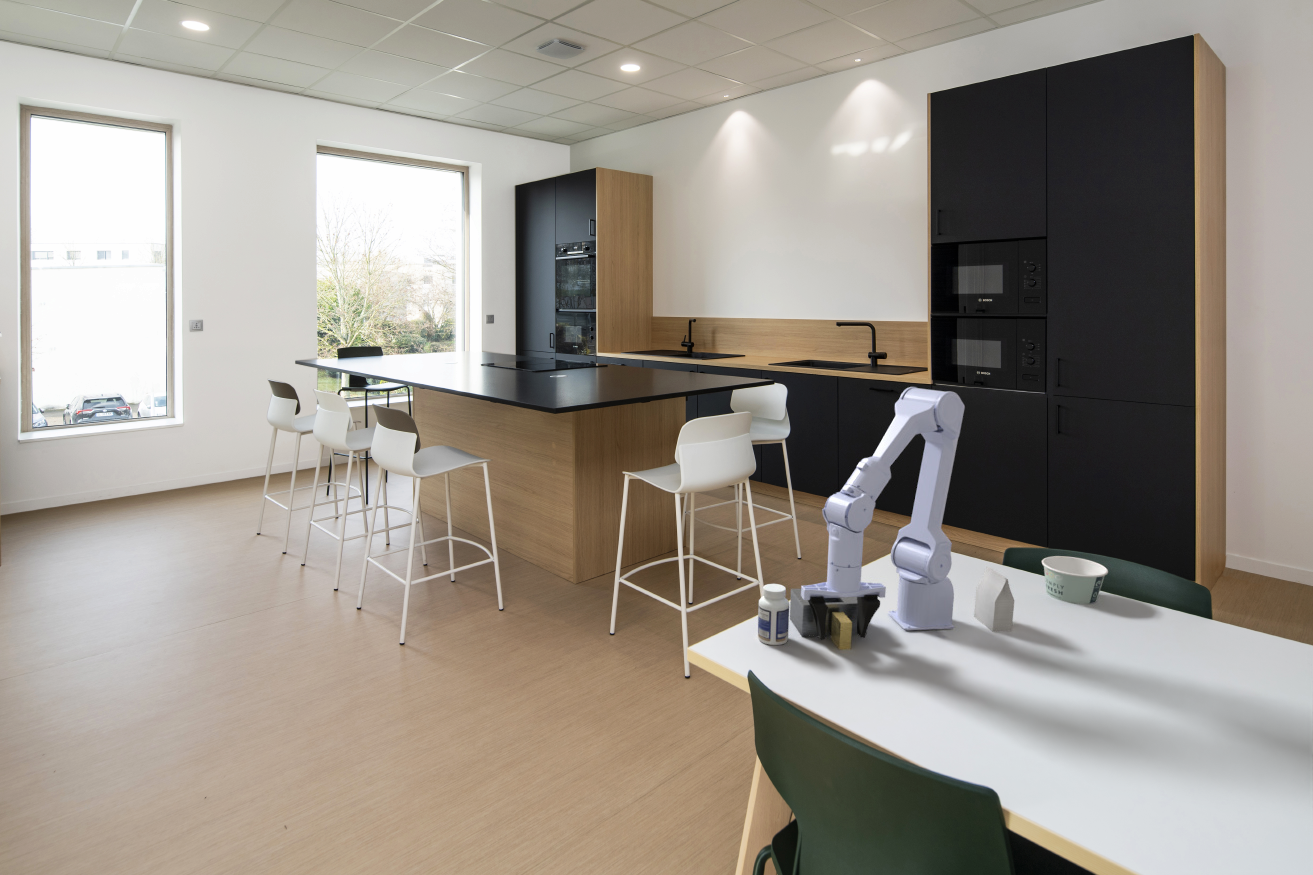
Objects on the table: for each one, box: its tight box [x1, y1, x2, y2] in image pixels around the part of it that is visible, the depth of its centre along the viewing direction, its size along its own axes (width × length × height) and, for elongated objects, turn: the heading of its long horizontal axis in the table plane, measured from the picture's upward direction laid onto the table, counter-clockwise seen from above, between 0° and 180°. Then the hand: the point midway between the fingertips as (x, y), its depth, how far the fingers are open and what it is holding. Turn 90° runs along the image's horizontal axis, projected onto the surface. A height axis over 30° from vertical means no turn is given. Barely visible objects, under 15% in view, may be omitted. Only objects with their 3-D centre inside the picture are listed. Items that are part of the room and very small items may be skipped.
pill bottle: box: [757, 583, 790, 646], centre depth 134 cm, size 5×5×10 cm
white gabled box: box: [973, 566, 1015, 632], centre depth 142 cm, size 4×7×10 cm, turn 5°
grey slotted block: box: [789, 588, 868, 638], centre depth 140 cm, size 12×8×6 cm, turn 96°
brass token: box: [830, 612, 852, 651], centre depth 133 cm, size 2×4×5 cm, turn 6°
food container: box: [1041, 555, 1109, 605], centre depth 156 cm, size 12×12×6 cm
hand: (840, 635), depth 134 cm, fingers open, 7 cm apart
